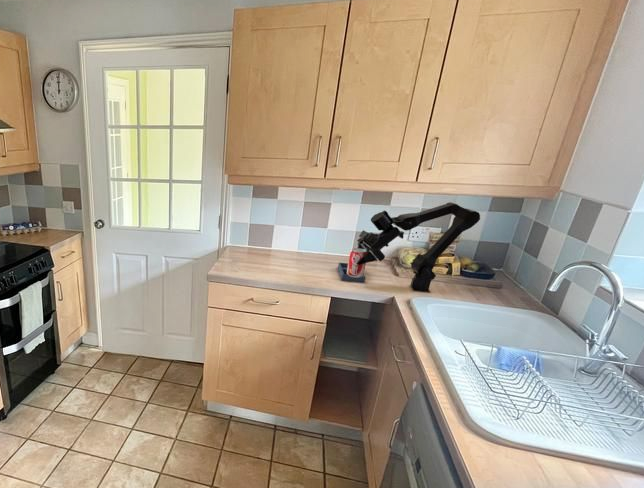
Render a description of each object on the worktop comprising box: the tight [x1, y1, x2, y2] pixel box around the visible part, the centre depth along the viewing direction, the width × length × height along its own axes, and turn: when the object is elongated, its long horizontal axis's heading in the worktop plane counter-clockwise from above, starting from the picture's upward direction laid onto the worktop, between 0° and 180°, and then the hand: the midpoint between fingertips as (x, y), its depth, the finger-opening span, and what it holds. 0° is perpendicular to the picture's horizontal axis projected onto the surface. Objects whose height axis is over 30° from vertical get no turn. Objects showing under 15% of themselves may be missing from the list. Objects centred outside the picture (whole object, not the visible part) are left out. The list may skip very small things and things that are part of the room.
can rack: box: [337, 262, 367, 284], centre depth 204 cm, size 10×19×3 cm, turn 163°
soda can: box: [347, 247, 367, 278], centre depth 185 cm, size 7×7×12 cm
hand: (354, 261), depth 185 cm, fingers closed on soda can, 7 cm apart
